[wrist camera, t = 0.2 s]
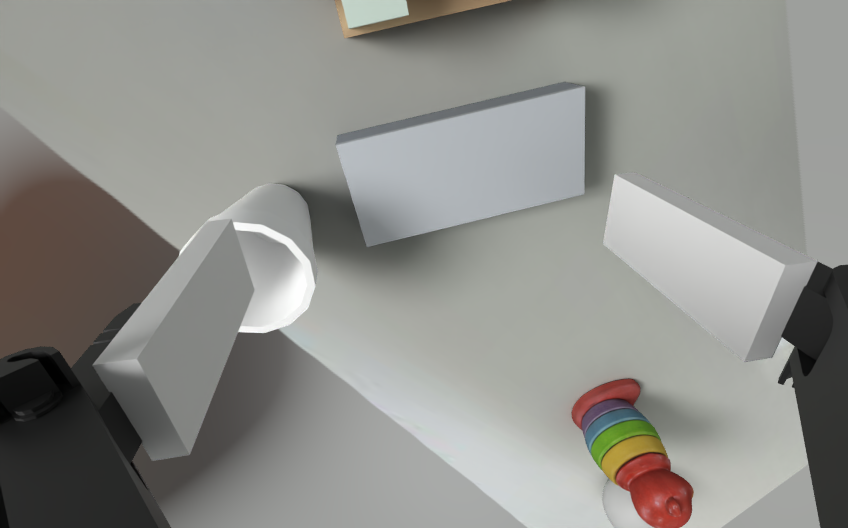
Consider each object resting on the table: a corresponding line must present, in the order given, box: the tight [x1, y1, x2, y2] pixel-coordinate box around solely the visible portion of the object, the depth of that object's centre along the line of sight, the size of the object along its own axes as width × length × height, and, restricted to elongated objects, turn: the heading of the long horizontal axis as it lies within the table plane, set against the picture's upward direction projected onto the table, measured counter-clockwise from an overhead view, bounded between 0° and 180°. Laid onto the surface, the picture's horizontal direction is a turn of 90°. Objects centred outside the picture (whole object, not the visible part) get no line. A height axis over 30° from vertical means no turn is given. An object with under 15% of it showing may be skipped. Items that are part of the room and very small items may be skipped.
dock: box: [336, 82, 585, 247], centre depth 39 cm, size 10×22×4 cm, turn 101°
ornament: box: [602, 479, 654, 528], centre depth 69 cm, size 10×10×12 cm
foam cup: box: [179, 183, 318, 333], centre depth 35 cm, size 10×9×13 cm
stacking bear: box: [572, 379, 694, 528], centre depth 56 cm, size 11×10×18 cm
